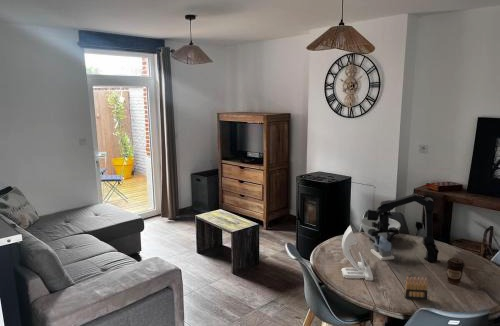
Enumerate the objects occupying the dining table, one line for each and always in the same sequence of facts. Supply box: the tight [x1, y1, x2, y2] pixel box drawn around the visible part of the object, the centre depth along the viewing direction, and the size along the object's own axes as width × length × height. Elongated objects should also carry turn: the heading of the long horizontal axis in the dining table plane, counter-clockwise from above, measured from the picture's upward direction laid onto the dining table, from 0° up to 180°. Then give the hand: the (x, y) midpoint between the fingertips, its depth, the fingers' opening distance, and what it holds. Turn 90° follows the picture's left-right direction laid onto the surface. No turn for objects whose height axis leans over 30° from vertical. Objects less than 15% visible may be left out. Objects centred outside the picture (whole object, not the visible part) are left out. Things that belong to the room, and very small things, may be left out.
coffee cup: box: [446, 257, 466, 285], centre depth 200 cm, size 9×8×13 cm
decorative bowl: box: [360, 216, 401, 242], centre depth 261 cm, size 27×27×12 cm
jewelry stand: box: [340, 225, 374, 281], centre depth 215 cm, size 25×16×25 cm, turn 178°
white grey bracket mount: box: [370, 242, 395, 261], centre depth 235 cm, size 13×9×6 cm
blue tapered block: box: [374, 236, 392, 252], centre depth 234 cm, size 12×4×5 cm, turn 10°
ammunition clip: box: [403, 275, 429, 301], centre depth 186 cm, size 11×2×12 cm, turn 81°
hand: (382, 244), depth 234 cm, fingers open, 6 cm apart
